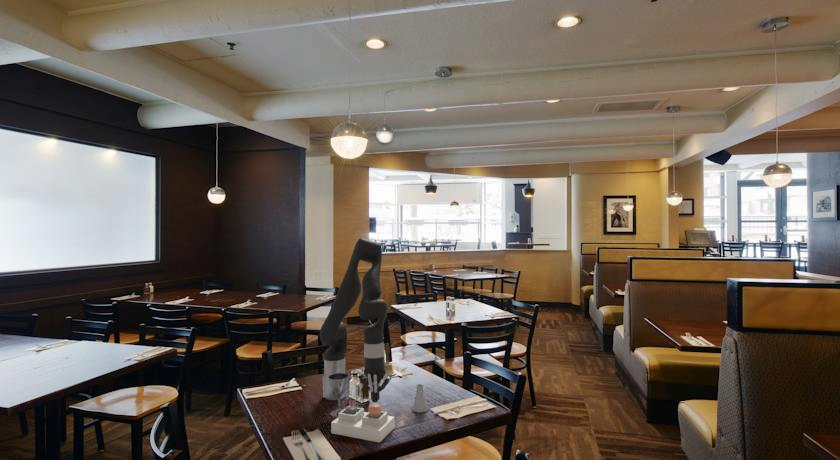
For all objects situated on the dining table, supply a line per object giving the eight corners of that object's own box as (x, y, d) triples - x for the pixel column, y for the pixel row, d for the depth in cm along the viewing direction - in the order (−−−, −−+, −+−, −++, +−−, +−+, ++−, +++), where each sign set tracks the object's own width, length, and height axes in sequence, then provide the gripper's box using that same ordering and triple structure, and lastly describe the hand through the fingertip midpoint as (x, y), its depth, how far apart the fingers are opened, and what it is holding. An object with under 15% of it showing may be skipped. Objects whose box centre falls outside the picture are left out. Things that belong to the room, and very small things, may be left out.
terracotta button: (366, 415, 156) (366, 407, 156) (372, 410, 160) (372, 402, 160) (377, 417, 154) (377, 409, 154) (383, 412, 158) (382, 404, 158)
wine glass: (352, 409, 177) (351, 373, 177) (343, 418, 170) (342, 380, 169) (335, 407, 180) (334, 372, 180) (325, 415, 172) (324, 378, 172)
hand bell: (397, 371, 223) (396, 341, 223) (393, 377, 215) (392, 345, 215) (381, 371, 225) (381, 340, 225) (377, 376, 216) (376, 345, 216)
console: (331, 433, 157) (331, 415, 157) (348, 419, 168) (348, 402, 168) (379, 442, 150) (379, 423, 150) (394, 427, 161) (394, 410, 161)
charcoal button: (343, 418, 160) (343, 410, 160) (349, 413, 164) (349, 405, 164) (353, 419, 158) (353, 411, 158) (359, 415, 162) (359, 407, 162)
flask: (427, 413, 172) (426, 389, 172) (409, 412, 173) (409, 388, 173) (430, 406, 179) (429, 382, 179) (413, 405, 180) (413, 381, 180)
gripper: (353, 355, 156) (354, 403, 156) (385, 358, 151) (387, 408, 151) (363, 350, 163) (364, 395, 163) (394, 353, 158) (396, 399, 158)
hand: (375, 401), depth 157 cm, fingers closed
